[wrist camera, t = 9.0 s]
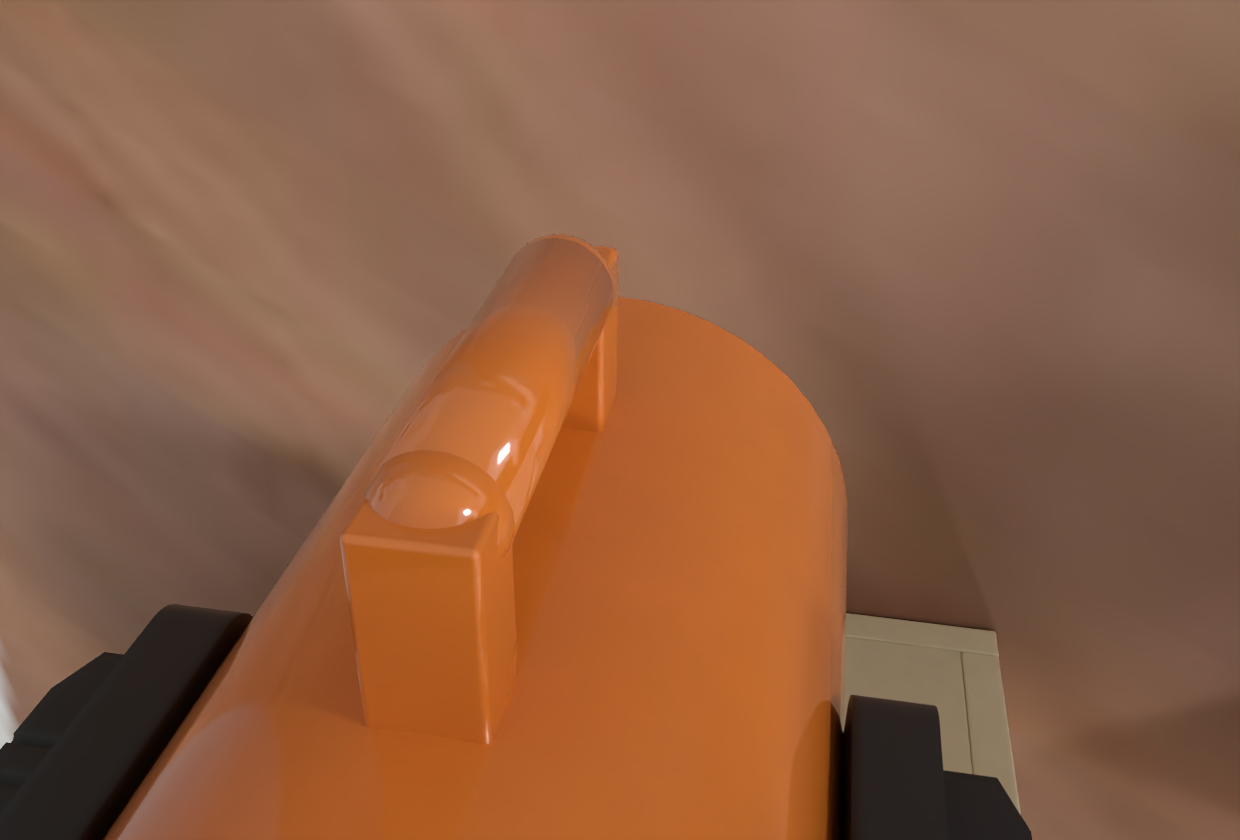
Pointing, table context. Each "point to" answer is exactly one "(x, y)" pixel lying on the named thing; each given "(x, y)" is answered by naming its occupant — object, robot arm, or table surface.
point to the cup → (546, 601)
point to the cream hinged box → (938, 686)
